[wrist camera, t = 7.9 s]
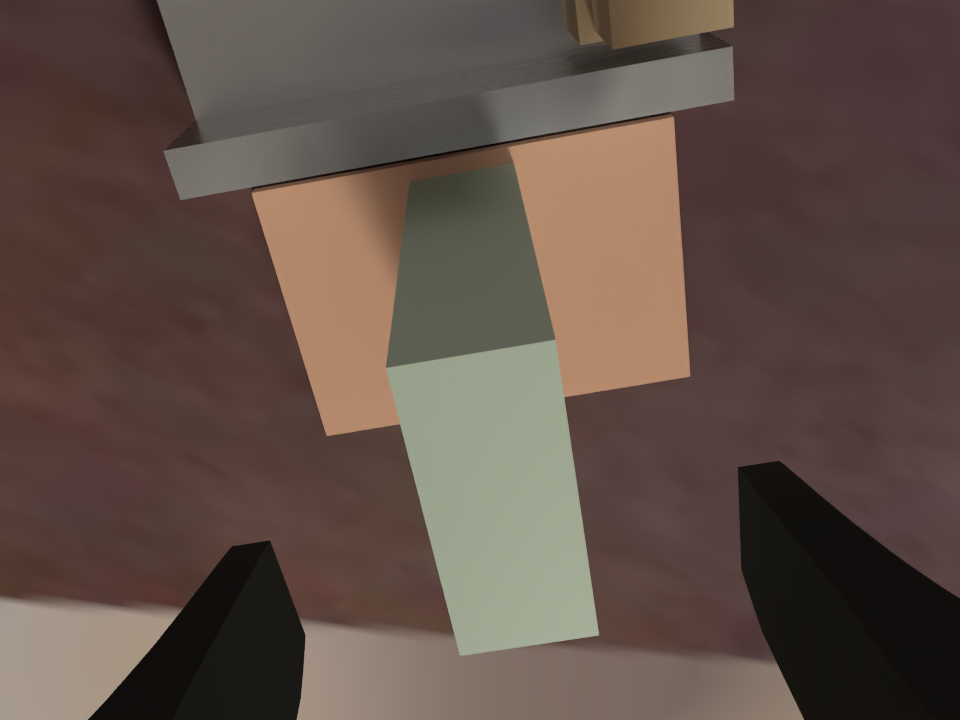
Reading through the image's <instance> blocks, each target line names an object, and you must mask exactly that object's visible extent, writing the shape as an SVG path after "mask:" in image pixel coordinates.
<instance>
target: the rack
mask: <svg viewBox="0 0 960 720" xmlns="http://www.w3.org/2000/svg"><path fill="white" fill-rule="evenodd" d="M157 2H158V6H159V9H160V12H161V15H162V18H163V21H164V24H165V27H166V30H167V33H168V36H169V39H170V42H171V45H172V48H173V51H174V54H175V57H176V60H177V63H178V67H179V70H180V73H181V76H182V79H183V82H184V85H185V88H186V91H187V94H188V97H189V100H190V103H191V106H192V109H193V112H194V115H195V118H196V120H195V121H194V122H193V123H192V124H191V125H190V126H189V127H188V128H187V129H186V130H185V131H184V132H183V133H182V134H180V135H179V136H178V137H177V138H176V139H175V140H174V141H173V142H172V143H171V144H170V145H169V146H168V147H167V148H166V149H165V150H164V154H165V157H166V160H167V163H168V166H169V168H170V171H171V174H172V177H173V180H174V183H175V185H176V188H177V191H178V194H179V197H180V200H183V199H188V198H194V197H200V196H205V195H211V194H216V193H222V192H227V191H233V190H238V189H244V188H249V187H255V186H261V185H266V184H272V183H277V182H283V181H288V180H294V179H299V178H305V177H310V176H316V175H322V174H327V173H333V172H338V171H344V170H349V169H355V168H360V167H366V166H372V165H377V164H383V163H388V162H394V161H399V160H405V159H410V158H416V157H421V156H427V155H433V154H438V153H444V152H449V151H455V150H460V149H466V148H471V147H477V146H483V145H488V144H494V143H499V142H505V141H510V140H516V139H521V138H527V137H532V136H538V135H544V134H549V133H555V132H560V131H566V130H571V129H577V128H582V127H588V126H594V125H599V124H605V123H610V122H616V121H621V120H627V119H632V118H638V117H643V116H649V115H655V114H660V113H666V112H671V111H677V110H682V109H688V108H693V107H699V106H705V105H710V104H716V103H721V102H727V101H732V100H734V76H733V46H731V45H729V44H728V43H726V42H724V41H723V40H721V39H719V38H717V37H716V36H714V35H712V34H710V33H709V32H705V33H699V34H694V35H688V36H683V37H677V38H672V39H667V40H661V41H656V42H650V43H645V44H640V45H634V46H629V47H623V48H618V49H612V48H611V47H610V46H609V45H608V44H607V43H606V42H605V41H601V42H595V43H590V44H584V45H579V43H578V42H577V41H576V40H575V38H574V37H573V36H572V35H571V33H570V32H569V31H568V30H567V28H566V27H565V23H564V15H563V6H562V0H157Z"/></svg>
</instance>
